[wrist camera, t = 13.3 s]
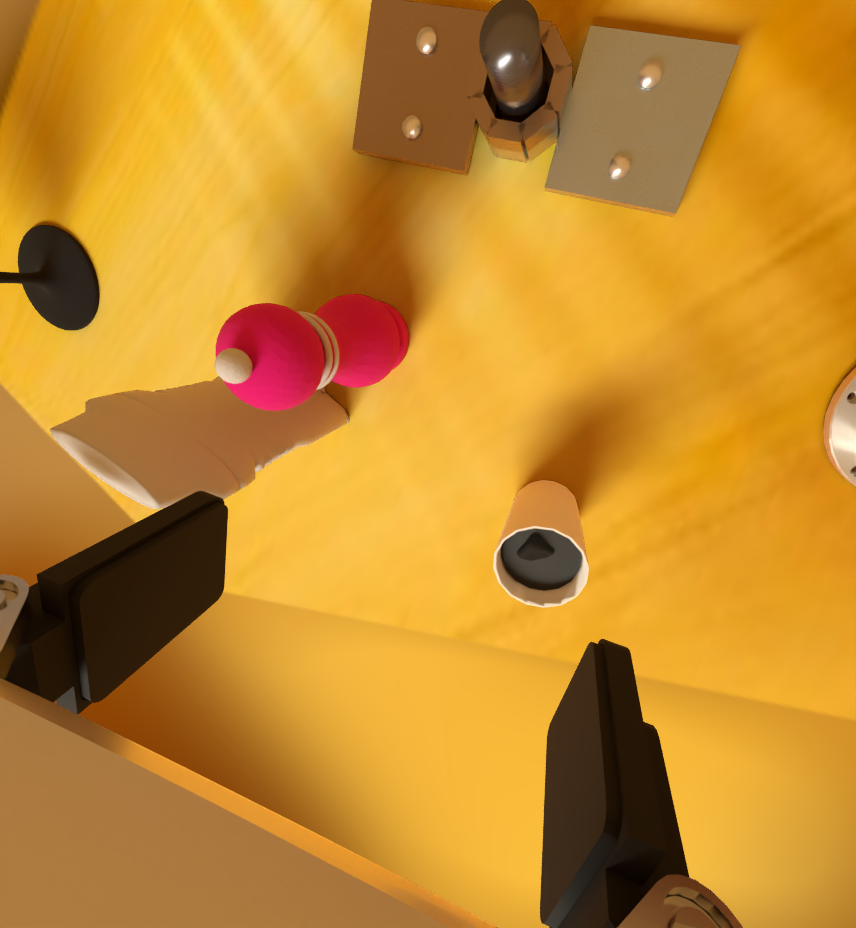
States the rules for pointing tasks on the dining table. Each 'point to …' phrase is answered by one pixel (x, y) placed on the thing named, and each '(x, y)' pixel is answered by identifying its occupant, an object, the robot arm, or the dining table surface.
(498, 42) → the hinge pin
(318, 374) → the pepper mill
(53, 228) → the wine glass
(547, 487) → the paper coffee cup
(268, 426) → the beige upright panel
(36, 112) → the dining table surface
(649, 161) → the hinge
